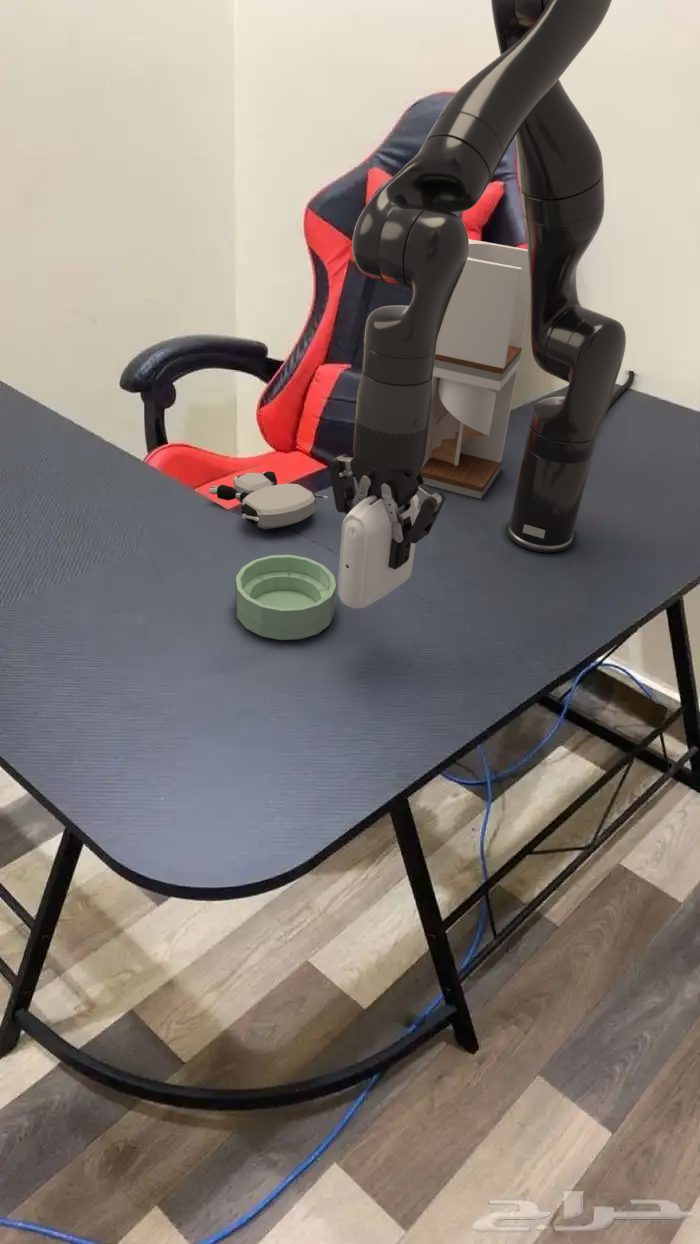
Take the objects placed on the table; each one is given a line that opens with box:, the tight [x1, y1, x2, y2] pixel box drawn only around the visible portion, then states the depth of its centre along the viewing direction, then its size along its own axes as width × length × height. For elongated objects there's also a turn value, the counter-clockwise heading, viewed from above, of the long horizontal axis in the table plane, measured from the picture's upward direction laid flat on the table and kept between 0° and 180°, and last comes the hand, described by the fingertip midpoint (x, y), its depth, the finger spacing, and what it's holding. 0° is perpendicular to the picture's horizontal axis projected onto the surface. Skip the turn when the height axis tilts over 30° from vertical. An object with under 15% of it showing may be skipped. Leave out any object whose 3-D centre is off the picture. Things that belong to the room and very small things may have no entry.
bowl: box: [235, 554, 337, 641], centre depth 118 cm, size 12×12×5 cm
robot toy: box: [208, 470, 329, 530], centre depth 139 cm, size 12×4×15 cm
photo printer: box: [336, 495, 420, 610], centre depth 105 cm, size 10×4×12 cm, turn 140°
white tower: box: [421, 238, 531, 500], centre depth 143 cm, size 11×11×35 cm
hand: (377, 556), depth 106 cm, fingers closed on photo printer, 4 cm apart
